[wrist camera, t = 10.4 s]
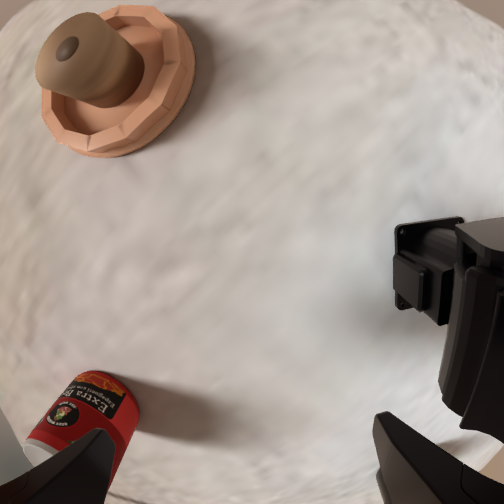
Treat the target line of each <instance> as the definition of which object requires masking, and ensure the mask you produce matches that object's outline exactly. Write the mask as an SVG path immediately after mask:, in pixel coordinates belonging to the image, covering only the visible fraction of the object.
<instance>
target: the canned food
mask: <svg viewBox="0 0 504 504" xmlns="http://www.w3.org/2000/svg"><path fill="white" fill-rule="evenodd" d="M138 421H139V407H138V404H137V402H136V400H135V398H134V396H133V395H132V394H131V393H130V391H129V390H128V389H127V388H126V387H125V386H124V385H122V384H121V383H120V382H119V381H117V380H116V379H114V378H113V377H111V376H109V375H107V374H104V373H101V372H97V371H87V372H84V373H82V374H80V375H78V376H77V377H76V378H75V379H74V380H73V381H72V382H71V384H70V385H69V386H68V387H67V388H66V389H65V391H64V392H63V393H62V394H61V396H60V397H59V398H58V399H57V400H56V402H55V403H54V404H53V405H52V407H51V408H50V409H49V410H48V412H47V413H46V414H45V415H44V417H43V418H42V419H41V420H40V422H39V423H38V424H37V425H36V427H35V428H34V429H33V430H32V432H31V433H30V435H29V436H28V438H27V439H26V441H25V443H24V444H23V451H24V453H25V455H26V456H27V458H28V459H29V461H30V462H31V463H32V464H33V466H34V467H36V466H37V465H39V464H41V463H42V462H44V461H45V460H47V459H49V458H50V457H52V456H53V455H55V454H56V453H58V452H59V451H61V450H63V449H64V448H66V447H67V446H69V445H70V444H72V443H73V442H75V441H76V440H78V439H79V438H81V437H82V436H84V435H85V434H87V433H88V432H89V431H91V430H92V429H94V428H101V429H105V430H106V431H107V432H108V434H109V435H110V437H111V438H112V440H113V441H114V443H115V446H116V450H115V456H114V461H113V467H112V473H111V478H110V483H109V487H110V486H111V483H112V481H113V479H114V476H115V474H116V472H117V469H118V467H119V465H120V462H121V460H122V458H123V456H124V453H125V451H126V449H127V447H128V444H129V442H130V440H131V438H132V435H133V433H134V431H135V429H136V427H137V424H138ZM109 487H108V489H109ZM107 492H108V490H107Z"/></svg>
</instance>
